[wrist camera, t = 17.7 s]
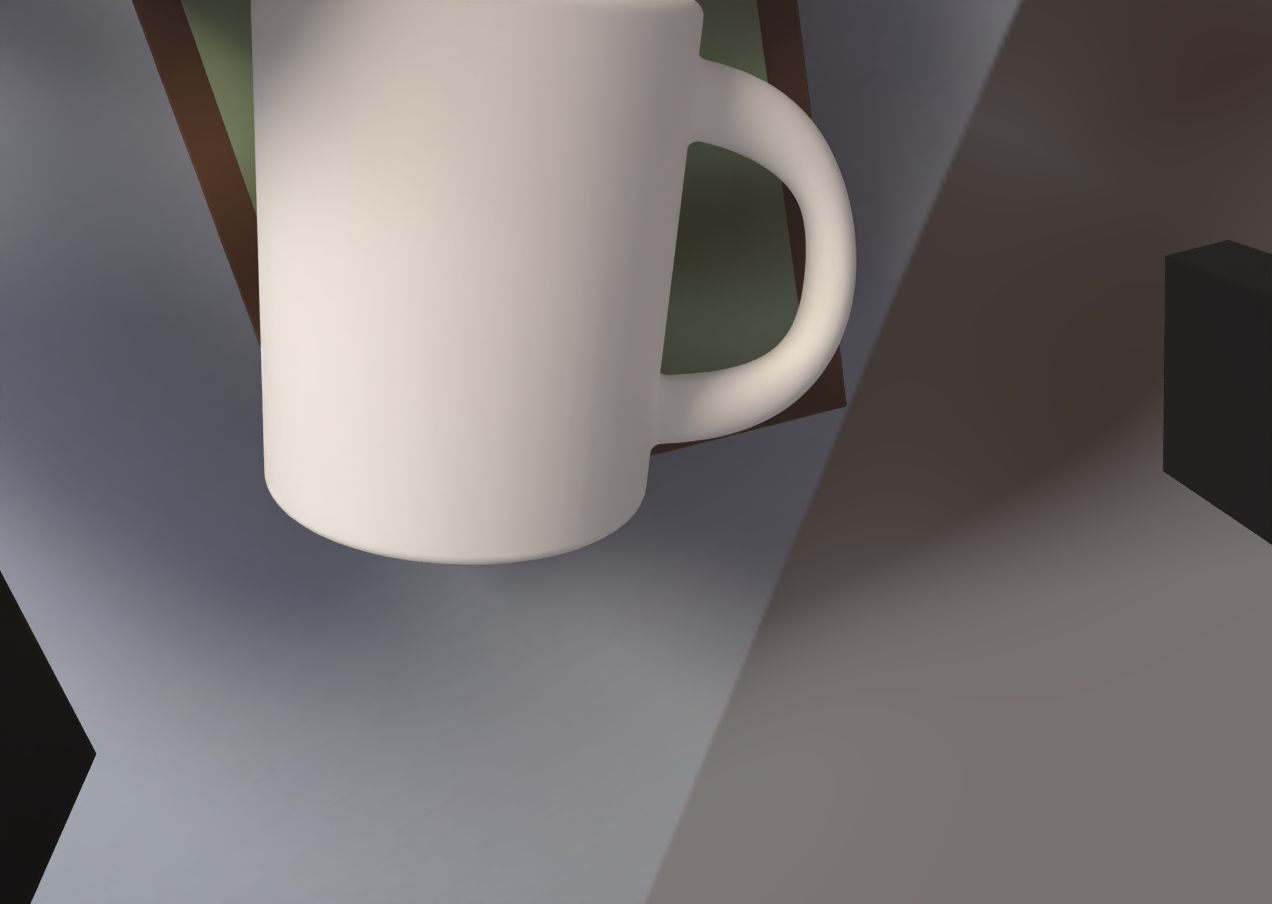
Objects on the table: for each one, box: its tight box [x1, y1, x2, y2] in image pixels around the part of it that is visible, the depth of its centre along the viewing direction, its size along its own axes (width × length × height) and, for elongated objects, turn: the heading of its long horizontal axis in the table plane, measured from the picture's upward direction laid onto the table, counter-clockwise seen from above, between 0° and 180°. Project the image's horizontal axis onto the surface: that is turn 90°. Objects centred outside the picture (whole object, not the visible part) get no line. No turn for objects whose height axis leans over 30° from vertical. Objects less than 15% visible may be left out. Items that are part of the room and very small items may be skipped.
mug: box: [251, 0, 856, 565], centre depth 22 cm, size 12×10×8 cm
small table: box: [132, 0, 847, 456], centre depth 28 cm, size 14×14×6 cm
